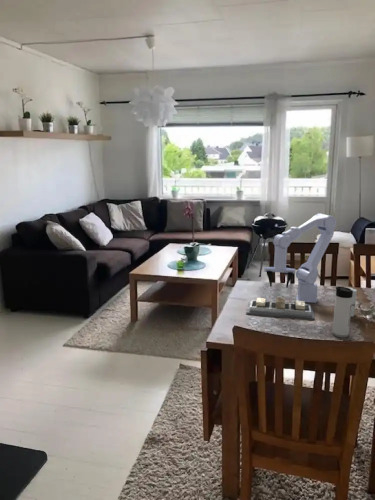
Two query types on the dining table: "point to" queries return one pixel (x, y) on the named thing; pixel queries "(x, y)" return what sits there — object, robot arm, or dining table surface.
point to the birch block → (280, 303)
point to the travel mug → (342, 312)
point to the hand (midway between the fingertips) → (278, 286)
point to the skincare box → (353, 301)
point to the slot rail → (290, 311)
